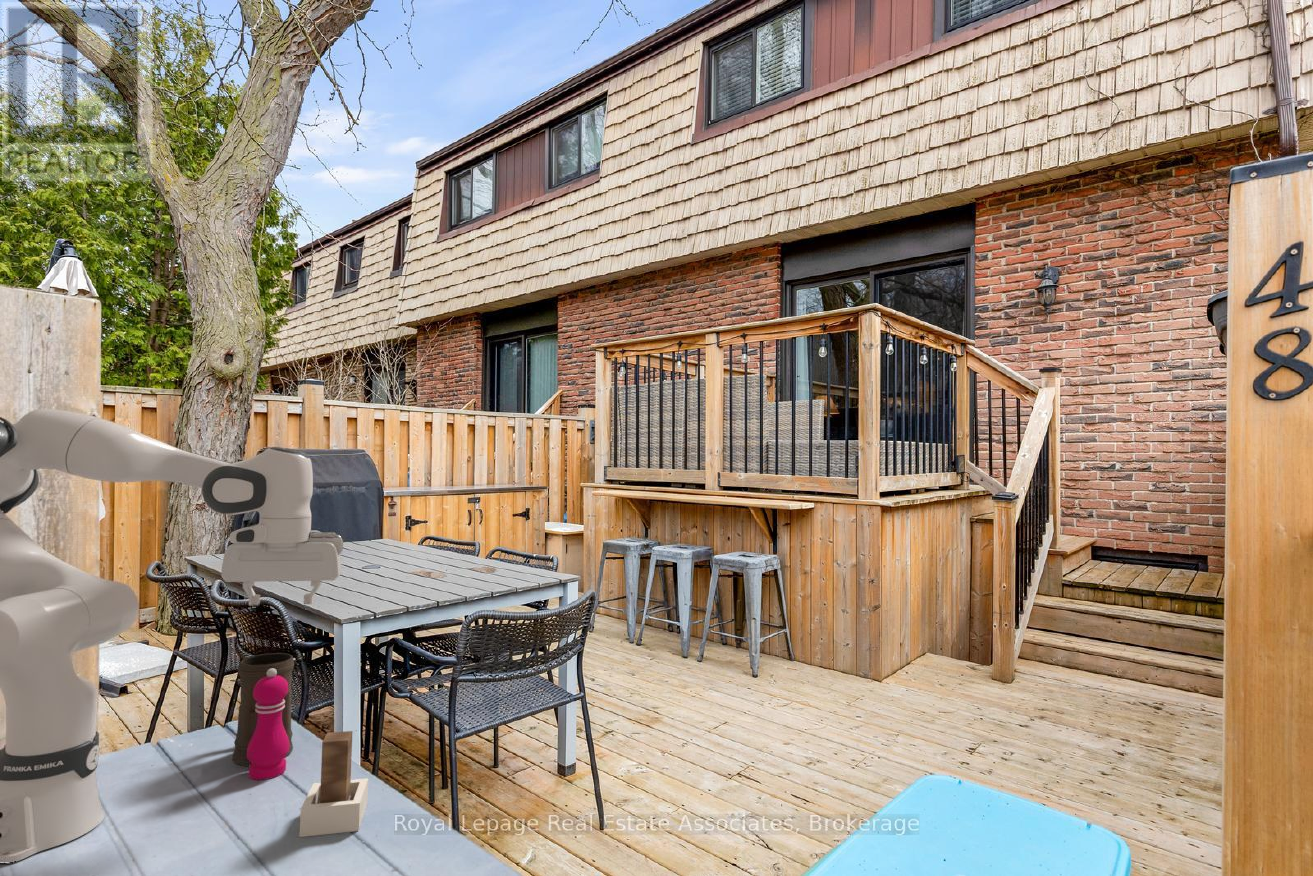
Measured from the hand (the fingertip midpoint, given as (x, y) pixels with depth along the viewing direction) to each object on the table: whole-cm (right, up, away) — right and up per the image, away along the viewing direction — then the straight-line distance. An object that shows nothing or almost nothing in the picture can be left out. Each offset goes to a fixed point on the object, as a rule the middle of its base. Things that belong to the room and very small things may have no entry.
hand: (281, 604), depth 130 cm
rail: (+17, -33, -15) cm, 40 cm away
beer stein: (-11, -33, +11) cm, 37 cm away
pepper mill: (-3, -33, +1) cm, 33 cm away
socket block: (+17, -33, -15) cm, 40 cm away
